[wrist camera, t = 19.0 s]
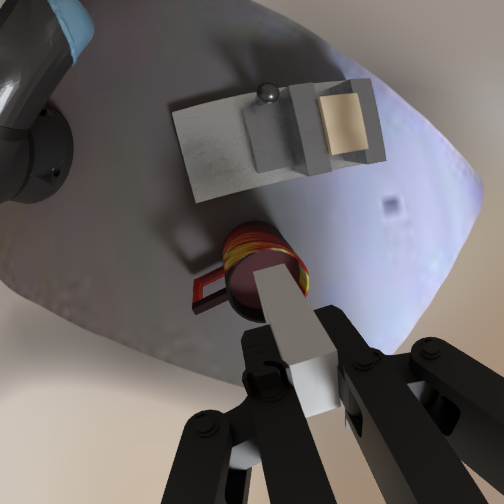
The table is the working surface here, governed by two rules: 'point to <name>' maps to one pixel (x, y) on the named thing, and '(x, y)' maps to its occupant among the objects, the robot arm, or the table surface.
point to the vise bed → (238, 147)
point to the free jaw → (287, 130)
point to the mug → (248, 269)
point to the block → (343, 123)
